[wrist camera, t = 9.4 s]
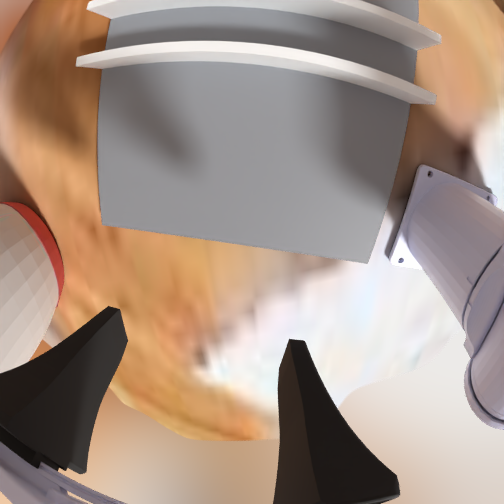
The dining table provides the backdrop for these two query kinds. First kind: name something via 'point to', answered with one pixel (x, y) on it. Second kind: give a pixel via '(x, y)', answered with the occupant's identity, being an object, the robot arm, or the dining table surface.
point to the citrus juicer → (26, 283)
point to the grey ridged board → (256, 118)
